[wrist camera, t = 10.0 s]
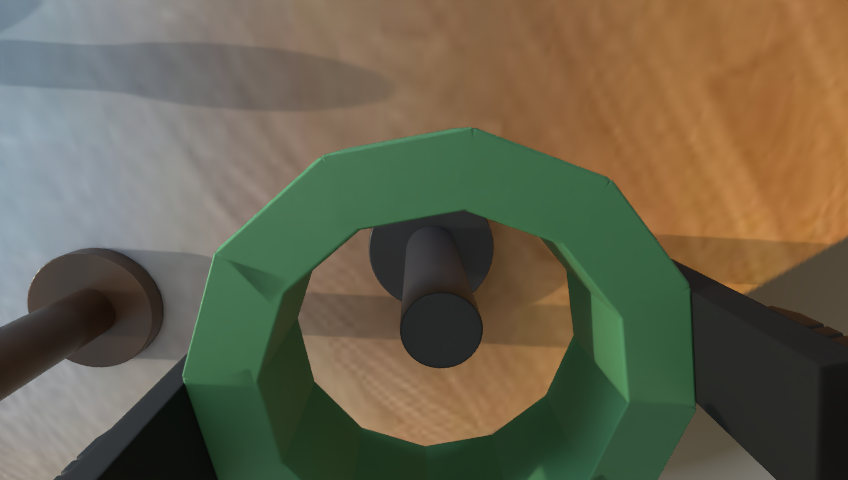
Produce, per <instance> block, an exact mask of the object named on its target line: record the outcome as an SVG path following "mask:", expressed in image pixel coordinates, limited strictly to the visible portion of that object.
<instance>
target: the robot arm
mask: <svg viewBox="0 0 848 480" xmlns="http://www.w3.org/2000/svg"><path fill="white" fill-rule="evenodd" d="M671 260H672V261H673V262H674V264H675V265H676V266H677V268H678V269H679V270H680V272H681V273H682V275H683V276H684V277H685V279H686V280H687V281H688V283H689V285H690V286H689V287H690V289H691V302H692V325H693V347H694V370H695V392H696V403H697V404H699V405H700V407H702V408H703V409H704V410H705V411H706V412H707V413H708V414H709V415H710V416H711V417H712V418H713V419H714V420H715V421H716V422H717V423H718V424H719V425H720V426H721V427H722V428H723V429H724V430H725V431H726V432H727V433H728V434H730V435H731V436H732V437H733V438H734V439H735V440H736V441H737V442H738V443H739V444H740V445H741V446H742V447H743V448H744V449H745V450H746V451H747V452H748V453H749V454H750V455H751V456H752V457H753V458H754V459H755V460H756V461H757V462H759V463H760V464H761V465H762V466H763V467H764V468H765V469H766V470H767V471H768V472H769V473H770V474H771V475H772V476H773V477H774V478H775V479H776V480H848V336H843V334H842V333H841V332H838V331H837V330H834V329H832V328H830V327H828V326H827V327H824V326H823V324H822V323H820V322H818V321H815V320H813V319H811V318H809V317H807V316H805V315H803V314H800V313H797V312H793V311H789V310H785V309H782V308H777V307H774V306H770V307H767V306H765V305H763V304H761V303H759V302H757V301H755V300H753V299H751V298H749V297H747V296H745V295H743V294H741V293H739V292H737V291H735V290H733V289H731V288H729V287H727V286H725V285H723V284H721V283H719V282H717V281H715V280H713V279H711V278H709V277H707V276H705V275H703V274H701V273H699V272H697V271H695V270H693V269H691V268H689V267H687V266H685V265H683V264H681V263H679V262H677V261H675V260H673V259H671ZM187 355H188V353H187V354H186V355H185V356H184V357H183V358H182V359H181V360H180V361H179V362H178V363H177V364H176V365H175V366H174V367H173V368H172V369H171V370H170V371H169V372H168V373H167V374H166V375H165V376H164V377H163V378H162V379H161V380H160V381H159V382H158V383H157V384H156V385H155V386H154V387H153V388H152V389H151V390H150V391H149V392H148V393H147V394H146V395H145V396H144V397H143V398H142V399H141V400H140V401H138V402H137V403H136V404H135V405H134V406H133V407H132V408H131V409H130V410H129V411H128V412H127V413H126V414H125V415H124V416H123V417H122V418H121V419H120V420H119V421H118V422H117V423H116V424H115V425H114V426H113V427H112V428H111V429H110V430H108V431H107V432H105V433H104V434H102V435H101V436H99V437H98V438H96V439H95V440H94V441H93V442H92V443H91V444H90V445H89V446H88V447H87V448H86V449H85V450H84V451H82V452H81V453H80V454H79V455H78V456H77V459H76V460H75V461H72V462H71V463H70V464H69V465H68V466H67V467H66V468H65V469H64V470H63V471H62V472H61V475H60V476H57V477H56V478H55V479H54V480H218V479H217V476H216V473H215V470H214V468H213V465H212V462H211V459H210V456H209V453H208V450H207V447H206V444H205V441H204V438H203V436H202V433H201V430H200V427H199V424H198V421H197V418H196V415H195V412H194V409H193V407H192V404H191V401H190V398H189V395H188V392H187V389H186V386H185V383H184V381H183V377H182V374H183V370H184V366H185V363H186V359H187Z"/></svg>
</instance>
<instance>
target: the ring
mask: <svg viewBox="0 0 848 480" xmlns="http://www.w3.org/2000/svg"><path fill="white" fill-rule="evenodd" d="M459 211H467V212H470V213H473V214H475V215H478V216H481V217H484V218H487V219H490V220H493V221H495V222H498V223H501V224H504V225H507V226H510V227H512V228H515V229H518V230H521V231H524V232H527V233H529V234H532V235H535V236H538V237H540V238H541V239H542V240H543V241H544V243H545V244H546V245H547V246H548V248H549V249H550V250H551V251H552V253H553V254H554V255H555V256H556V258H557V259H558V260H559V261H560V262H561V264H562V265H563V266H564V267H565V269H566V271H567V280H568V288H569V297H570V306H571V315H572V324H573V333H574V336H573V338H572V340H571V342H570V344H569V346H568V349H567V351H566V353H565V355H564V357H563V359H562V361H561V364H560V366H559V368H558V370H557V372H556V374H555V376H554V379H553V381H552V383H551V385H550V387H549V389H548V392H547V394H546V395H545V396H544V397H543V398H541V399H540V400H539V401H537V402H536V403H535V404H533V405H532V406H530V407H529V408H528V409H526V410H525V411H524V412H522V413H521V414H520V415H518V416H517V417H516V418H514V419H513V420H511V421H510V422H509V423H507V424H506V425H505V426H503V427H502V428H501V429H499V430H498V431H496V432H495V433H494V434H492V435H488V436H482V437H476V438H471V439H465V440H459V441H453V442H447V443H442V444H436V445H430V446H422V445H419V444H415V443H412V442H408V441H405V440H402V439H398V438H395V437H391V436H388V435H385V434H381V433H378V432H374V431H371V430H368V429H364V428H361V427H360V426H359V425H358V424H357V423H356V422H355V421H354V420H353V419H352V418H351V417H350V416H349V415H348V414H347V413H346V412H345V411H344V410H343V409H342V408H341V407H340V406H339V405H338V404H337V403H336V402H335V401H334V400H333V399H332V398H331V397H330V396H329V395H328V394H327V393H326V392H325V391H324V390H323V389H322V388H321V387H320V386H318V385H317V384H316V383H315V382H314V378H313V374H312V371H311V367H310V363H309V359H308V356H307V352H306V348H305V344H304V341H303V337H302V333H301V329H300V326H299V322H298V315H299V312H300V308H301V305H302V302H303V299H304V296H305V293H306V289H307V286H308V283H309V280H310V277H311V273H312V270H314V269H315V268H316V267H317V266H318V265H319V264H321V263H322V262H323V261H324V260H325V259H326V258H328V257H329V256H330V255H331V254H332V253H333V252H335V251H336V250H337V249H338V248H339V247H340V246H342V245H343V244H344V243H345V242H346V241H347V240H349V239H350V238H351V237H352V236H353V235H354V234H356V233H357V232H358V231H359V230H361V229H367V228H372V227H377V226H383V225H388V224H394V223H399V222H405V221H410V220H416V219H421V218H426V217H432V216H437V215H443V214H448V213H454V212H459ZM689 286H690V285H689V283H688V281H687V280H686V279H685V277H684V276H683V275H682V273H681V272H680V270H679V269H678V268H677V266H676V265H675V264H674V262H673V261H672V260H671V258H670V257H669V256H668V254H667V253H666V252H665V250H664V249H663V248H662V246H661V245H660V244H659V242H658V241H657V240H656V238H655V237H654V236H653V234H652V233H651V231H650V230H649V229H648V227H647V226H646V225H645V223H644V222H643V221H642V219H641V218H640V217H639V215H638V214H637V213H636V211H635V210H634V209H633V207H632V206H631V205H630V203H629V202H628V201H627V199H626V198H625V197H624V195H623V194H622V192H621V191H620V190H619V188H618V187H617V186H616V184H615V183H614V182H613V181H612V180H610V179H609V178H608V177H606V176H603V175H600V174H598V173H595V172H592V171H590V170H587V169H584V168H582V167H579V166H576V165H574V164H571V163H568V162H566V161H563V160H560V159H557V158H555V157H552V156H549V155H547V154H544V153H541V152H539V151H536V150H533V149H531V148H528V147H525V146H523V145H520V144H517V143H515V142H512V141H509V140H507V139H504V138H501V137H498V136H496V135H493V134H490V133H488V132H485V131H482V130H480V129H477V128H471V127H466V128H452V129H447V130H442V131H436V132H431V133H426V134H420V135H415V136H410V137H404V138H399V139H394V140H388V141H383V142H378V143H372V144H367V145H362V146H356V147H351V148H347V149H343V150H339V151H336V152H332V153H328V154H325V155H323V156H322V157H320V158H318V159H317V160H316V161H315V162H314V163H312V164H311V165H310V166H309V167H308V168H307V169H306V170H305V171H304V172H302V173H301V174H300V175H299V176H298V177H297V178H296V179H295V180H294V181H292V182H291V183H290V184H289V185H288V186H287V187H286V188H285V189H284V190H282V191H281V192H280V193H279V194H278V195H277V196H276V197H275V198H274V199H272V200H271V201H270V202H269V203H268V204H267V205H266V206H265V207H264V208H262V209H261V210H260V211H259V212H258V213H257V214H256V215H255V216H254V217H252V218H251V219H250V220H249V221H248V222H247V223H246V224H245V225H244V226H242V227H241V228H240V229H239V230H238V231H237V232H236V233H235V234H234V235H232V236H231V237H230V238H229V239H228V240H227V241H226V242H225V243H224V244H222V245H221V246H220V247H219V248H218V250H217V252H215V253H214V255H213V259H212V263H211V267H210V270H209V274H208V278H207V282H206V286H205V290H204V294H203V297H202V301H201V305H200V309H199V313H198V317H197V320H196V324H195V328H194V332H193V336H192V340H191V343H190V347H189V351H188V355H187V359H186V363H185V366H184V370H183V374H182V377H183V381H184V383H185V386H186V389H187V392H188V395H189V398H190V401H191V404H192V407H193V409H194V412H195V415H196V418H197V421H198V424H199V427H200V430H201V433H202V436H203V438H204V441H205V444H206V447H207V450H208V453H209V456H210V459H211V462H212V465H213V468H214V470H215V473H216V476H217V479H218V480H658V478H659V476H660V474H661V472H662V471H663V469H664V467H665V465H666V464H667V462H668V460H669V458H670V456H671V454H672V453H673V451H674V449H675V447H676V445H677V444H678V442H679V440H680V438H681V436H682V435H683V433H684V431H685V429H686V427H687V425H688V424H689V422H690V420H691V418H692V417H693V415H694V413H695V411H696V408H695V406H696V392H695V370H694V347H693V325H692V302H691V289H690V287H689Z"/></svg>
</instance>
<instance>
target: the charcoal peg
mask: <svg viewBox="0 0 848 480" xmlns="http://www.w3.org/2000/svg"><path fill="white" fill-rule="evenodd" d="M369 257H370V262H371V266H372V269H373V271H374V274H375V276H376V277H377V279H378V281H379V282H380V284H381V285H382V286H383V287H384V289H386V290H387V291H388V292H389V293H390V294H391V295H392V296H394V297H395V298H396V299H398V300H400V301H402V310H401V323H400V335H401V340H402V343H403V345H404V348H405V349H406V351H407V352H408V353H409V354H410V356H411V357H413V358H414V359H415V360H416V361H418V362H419V363H421V364H423V365H426V366H429V367H433V368H449V367H453V366H456V365H459V364H461V363H462V362H464V361H466V360H467V359H468V358H469V357H471V356H472V354H473V353H474V352H475V351H476V349H477V348H478V346H479V344H480V342H481V339H482V334H483V325H482V320H481V316H480V313H479V311H478V308H477V305H476V302H475V299H474V296H473V292H474V291H475V290H476V289H477V288H478V287H479V285H480V284H481V283H482V282H483V280H484V279H485V277H486V275H487V273H488V271H489V268H490V265H491V262H492V257H493V238H492V234H491V230H490V227H489V224H488V222H487V221H486V219H485V218H484V217H481V216H478V215H475V214H473V213H470V212H467V211H459V212H454V213H448V214H443V215H437V216H432V217H426V218H421V219H416V220H410V221H405V222H399V223H394V224H388V225H383V226H377V227H373V228H372V231H371V235H370V241H369Z"/></svg>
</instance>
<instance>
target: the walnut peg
mask: <svg viewBox="0 0 848 480" xmlns="http://www.w3.org/2000/svg"><path fill="white" fill-rule="evenodd" d="M27 303H28V312H29V314H27V315H25V316H23V317H21V318H19V319H17V320H15V321H13V322H10V323H8V324H6V325H4V326H2V327H0V401H1V400H3V399H4V398H6V397H7V396H9V395H10V394H12V393H13V392H15V391H16V390H18V389H19V388H21V387H22V386H24V385H26V384H27V383H29V382H30V381H32V380H33V379H35V378H36V377H38V376H39V375H41V374H42V373H44V372H45V371H47V370H48V369H50V368H51V367H53V366H55V365H56V364H58V363H59V362H61V361H62V360H64V359H65V358H66V359H68V360H70V361H72V362H75V363H78V364H81V365H85V366H91V367H109V366H114V365H118V364H121V363H124V362H126V361H128V360H130V359H132V358H133V357H134V356H136V355H137V354H138V353H140V352H141V351H142V350H143V349H144V348H146V347H147V346H148V345H149V344H150V343H151V342H152V341H153V340H154V338H155V337H156V335H157V333H158V331H159V329H160V326H161V323H162V317H163V306H162V300H161V296H160V293H159V291H158V288H157V286H156V285H155V283H154V281H153V280H152V278H151V277H150V276H149V274H148V273H147V272H146V271H145V270H144V269H143V268H142V267H141V266H139V265H138V264H137V263H136V262H134V261H133V260H131V259H130V258H128V257H126V256H124V255H122V254H119V253H117V252H114V251H110V250H106V249H99V248H88V249H81V250H77V251H73V252H71V253H68V254H65V255H62V256H60V257H57V258H55V259H53V260H51V261H49V262H48V263H46V264H45V265H44V266H43V267H42V268H41V269H40V270H39V271H38V272H37V273H36V275H35V276H34V278H33V280H32V282H31V284H30V287H29V291H28V298H27Z"/></svg>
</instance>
